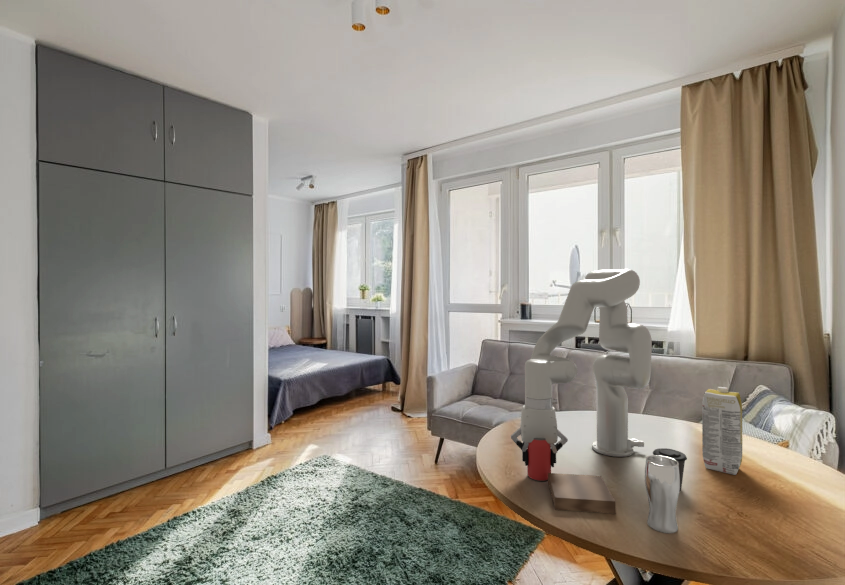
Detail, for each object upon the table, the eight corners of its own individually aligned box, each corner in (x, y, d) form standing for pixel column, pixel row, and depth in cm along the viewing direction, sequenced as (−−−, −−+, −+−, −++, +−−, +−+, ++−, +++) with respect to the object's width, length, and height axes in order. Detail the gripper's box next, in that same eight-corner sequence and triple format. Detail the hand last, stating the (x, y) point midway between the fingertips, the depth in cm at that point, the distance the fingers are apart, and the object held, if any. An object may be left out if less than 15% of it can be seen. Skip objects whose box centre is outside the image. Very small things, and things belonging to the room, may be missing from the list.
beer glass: (638, 518, 101) (638, 455, 101) (666, 516, 102) (666, 453, 101) (657, 535, 94) (657, 467, 94) (687, 533, 95) (687, 466, 95)
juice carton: (743, 468, 127) (743, 388, 127) (739, 477, 122) (739, 393, 121) (706, 460, 134) (705, 383, 133) (700, 468, 128) (700, 388, 128)
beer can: (552, 483, 120) (551, 440, 120) (527, 481, 121) (527, 438, 121) (550, 472, 126) (549, 432, 126) (527, 471, 128) (526, 431, 127)
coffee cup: (675, 497, 111) (675, 459, 111) (646, 485, 118) (645, 448, 118) (694, 490, 114) (693, 453, 114) (664, 478, 122) (664, 443, 121)
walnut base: (601, 486, 117) (601, 475, 117) (615, 513, 103) (615, 501, 103) (548, 483, 119) (548, 472, 119) (555, 509, 106) (555, 497, 106)
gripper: (567, 400, 126) (568, 461, 126) (507, 398, 129) (508, 457, 129) (572, 407, 118) (572, 472, 119) (508, 405, 121) (508, 468, 121)
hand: (539, 464), depth 124 cm, fingers closed on beer can, 6 cm apart
